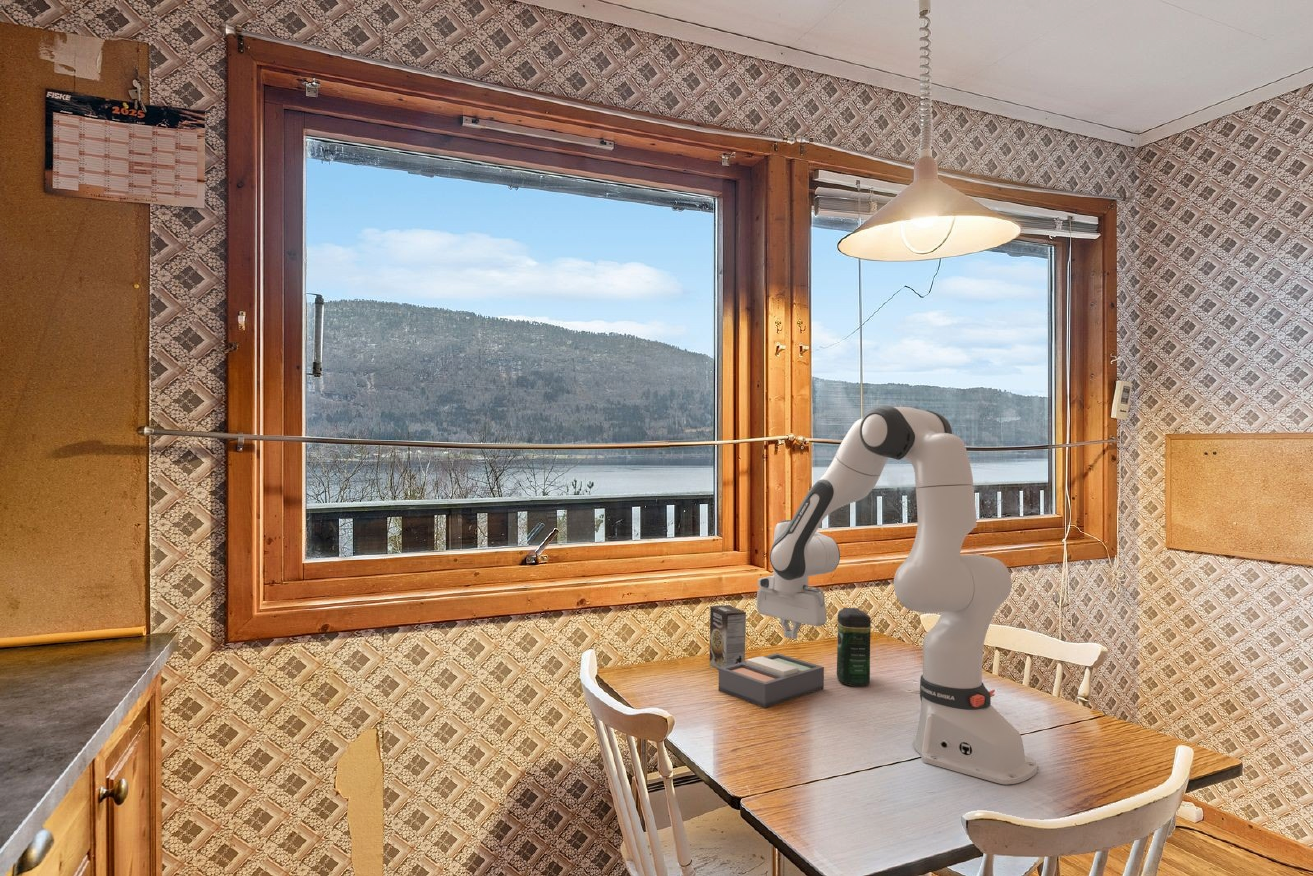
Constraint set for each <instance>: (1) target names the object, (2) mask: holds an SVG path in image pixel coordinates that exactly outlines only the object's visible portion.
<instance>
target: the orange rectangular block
mask: <svg viewBox="0 0 1313 876" xmlns="http://www.w3.org/2000/svg"><path fill="white" fill-rule="evenodd" d="M731 671H734V672H737V673H740V674H743V675H746V676H749V677H752V678H755V679H757V680H760V681H763V682H766V681H770V680H773V679H775V678H772V677H769V676H766V675H763V674H760V673H757V672H754V671H751V670H748V669H745V668H738V669H735V670H731Z"/></svg>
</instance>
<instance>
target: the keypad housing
mask: <svg viewBox="0 0 1313 876" xmlns="http://www.w3.org/2000/svg"><path fill="white" fill-rule="evenodd" d="M763 657H765V658H768V659H771V660H772V659H776V658H780V659H783V660H786V661H789V662H793V663H796V664H799V665H802V666H806V667H809V668H811V669H808V670H804V671H800V670H798V672H797V673H794V674H791V675H787V676H781V675H778V674H775V673H772V672H769V671H766V670H763V669H760V668H757V667H754V666H751V665H748V664H746V663H747V660H745V662H741V663H737V664H733V665H729V666H726V667H722V668H719V669H718V692H721V693H724V694H727V695H730V696H732V697H734V698H737V699H740V700H742V701H744V702H748V703H750V704H752V705H755V706H757V707H761V708H763V709H767V708H771V707H773V706H776V705H779V704H782V703H785V702H789V701H792V700H795V699H799V698H801V697H804V696H807V695H809V694H813V693H816V692H819V691H821V690H824V689H825V688H824V687H825V686H824V683H825V667H824V666H822V665H818V664H815V663H812V662H808V661H806V660H802V659H798V658H795V657H792V656H788V655H786V654H785V655H784V654H782V653H777V652H776V653H773V654H769V655H765V656H763ZM738 668H745V669H748V670H751V671H754V672H757V673H760V674H763V675H766V676H769V677H772V678H775V679H773V680H770V681H766V682H763V681H760V680H757V679H755V678H752V677H749V676H746V675H743V674H740V673H737V672H734V671H731V670H735V669H738Z"/></svg>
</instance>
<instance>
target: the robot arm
mask: <svg viewBox="0 0 1313 876" xmlns="http://www.w3.org/2000/svg"><path fill="white" fill-rule="evenodd" d="M889 459H893V460H897V461H898V460H899V461H900V460H902V459H904V460H908V462H910V464H911V465H912V467H913V470H914V481H915V483H914V484H915V495H916V511H917V513H916V515H917V527H916V532H915V533H916V534H915V538H914V541H913V543H912V544H913V545H912V546H911V550H910V552H909V554H908V556H907V558H905V560H904V561H903V562H902V563H901V564H900V565H899V566H898V567H897V569H896V572H895V574H894V577H893V589H894V592H895V595H896V598H897V600H898V601H899V602H900V604H901V605H902V606H903V608H905V609H907V610H909V611H913V612H919V613H925V614H940V616H939V618H938V619H937V622H936V623H935V624H934V626H933V627H932V628H931V629H930V630H929V631H927V633H926V634H925V636H924V638H923V641H922V674H921V675H920V680H919V681H920V684H919V698H920V701H921V703H920V713H919V720H918V725H917V726H918V727H917V730H916V733H915V738H914V740H913V743H912V745H913V748H914V750H915V751H916V752H917V753H919V755H920V757H921V758H920V759H921V760H922V762H924V763H926V764H930V765H933V766H936V767H940V768H944V769H948V770H951V771H953V772H956V773H957V772H958V773H960V774H965V775H968V776H970V777H971V776H972V777H975V778H979V779H983V780H984V781H989V782H992V783H996V784H1000V785H1015V784H1019V783H1023V782H1026V781H1028V780H1029V779H1030V778H1033V777H1034V776H1035V775H1036V774H1037V773H1038V769H1039V768H1038V762H1037V760H1036V759H1034V758H1031V757H1029V756H1027V755H1025V748H1024V742H1023V741H1024V740H1023V738H1022V735H1021V733H1020V732H1019V730H1017V728H1015V727H1014V726H1013V725H1012V724H1011V723H1010V722H1009V721H1008V720H1007V719H1006V718H1005V717H1004V716H1003V715H1002V713H1000V712H999V711H998V710H997V709H996V707H994V706H993V705H992V701H991V699H992V697H994V696H996V695H995V694H994V693H995V692H996V691H995V689H992V690H990V691H989V690H988V689H987V688H986V686H985V684H984V683H983V682H984V681H983V658H984V657H983V656H984V655H983V653H984V646H985V640H986V636H987V633H988V630H989V626H990V624H991V622H992V619H993V617H994V616H995V614H996V612H997V610H998V608H999V607H1000V606H1001V605H1002V604H1003V603H1004V602H1005V601H1006V600H1007V599H1008V598H1009V596H1010V594H1011V592H1012V591H1011V590H1012V577H1011V574H1010V571H1009V570H1008V567H1007V566H1006V565H1005V564H1004V562H1002V560H999V559H998V558H995V557H990V556H987V555H982V554H976V553H975V554H972V553H971V554H962V555H961V552H962V548H963V547H962V546H963V543H964V541H965V538H966V537H967V535H968V534H970V532H972V531H973V530H974V529H975V527H976V524H977V508H976V498H975V487H974V479H973V472H972V467H971V462H970V461H971V460H970V458H969V454H968V450H967V448H966V444H965V442H964V441H963V440H962V438H961V437H960V436H958V435H956V434H953V429H952V426H951V423H950V422H949V421H948V419H947V418H945V417H944V415H941V414H940V413H937V412H935V411H932V410H924V409H923V410H922V409H918V408H914V407H910V406H891V405H886V406H885V405H884V406H878V407H876V408H873V409H870V410H869V411H867V413H865V414H864V416H863V417H861V418H859V419H858V420H856V421H854V423H853V424H852V426H851V427H850V429H848V431H847V433H846V434H845V436H844V437H843V439H842V441H841V443H840V445H839V446H838V449H837V450H836V452H835V454H834V457H833V459H832V461H831V463H830V464H829V466H828V467H827V468H826V470H825V472H824V473H823V474H822V475H821V477H820V478H819V479H818V480H817V481H816V482H815V484H813V485H812V486H811V488H810V489H809V491H807V494H806V495H805V497H804V498H803V500H802V501H801V503H800V505H799V507H798V508H797V510H796V512H795V514H794V516H793V517H792V519H787V520H781V521H779V522H778V523H777V524H776V525H775V527H774V533H773V540H772V541H773V544H772V546H771V549H770V553H769V561H770V564H771V567H772V568H773V569H772V570H773V571H772V574H771V575H768V576H766V577H765V576H764V577H761V578H758V579H757V585H758V587H759V588H758V589H757V591H756V610H757V613H758V614H760V615H762V616H768V617H772V618H776V619H779V620H780V625H781V627H782V629H783V636H784V637H785V638H789V639H792V640H796V639H798V631H799V630H800V628H801V626H802V625H803V624H804V625H809V626H812V627H821V626H824V625H826V623H827V620H828V617H827V606H826V600H825V593H824V592H823V591H822V590H821V588H820V587H816V586H810V585H809V577H813V576H819V575H826V574H830V573H832V572H834V571H836V569H837V568H838V566H839V564H840V560H841V551H840V548H839V545H838V544H837V542H836V541H835V539H834V538H832V537H831V536H829V535H825V534H823V533H820V532H819V531H818V529H819V528H820V526H821V524H822V522H823V521H824V520H825V518H826V517H827V516H828V515H830V514H831V513H833V512H834V511H836V510H839V509H840V508H842V507H845V506H847V505H851V504H852V503H855V502H858V501H861V500H863V499H864V498H866V497H867V496H868V495H869V494H870V493H871V492H872V491H873V489H874V488H875V487H876V484H877V483H878V481H879V478H880V476H881V474H882V473H883V470H884V467H885V466H886V463H887V462H888V460H889ZM790 622H791V626H792V628H791V627H790V624H789V623H790Z"/></svg>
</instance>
